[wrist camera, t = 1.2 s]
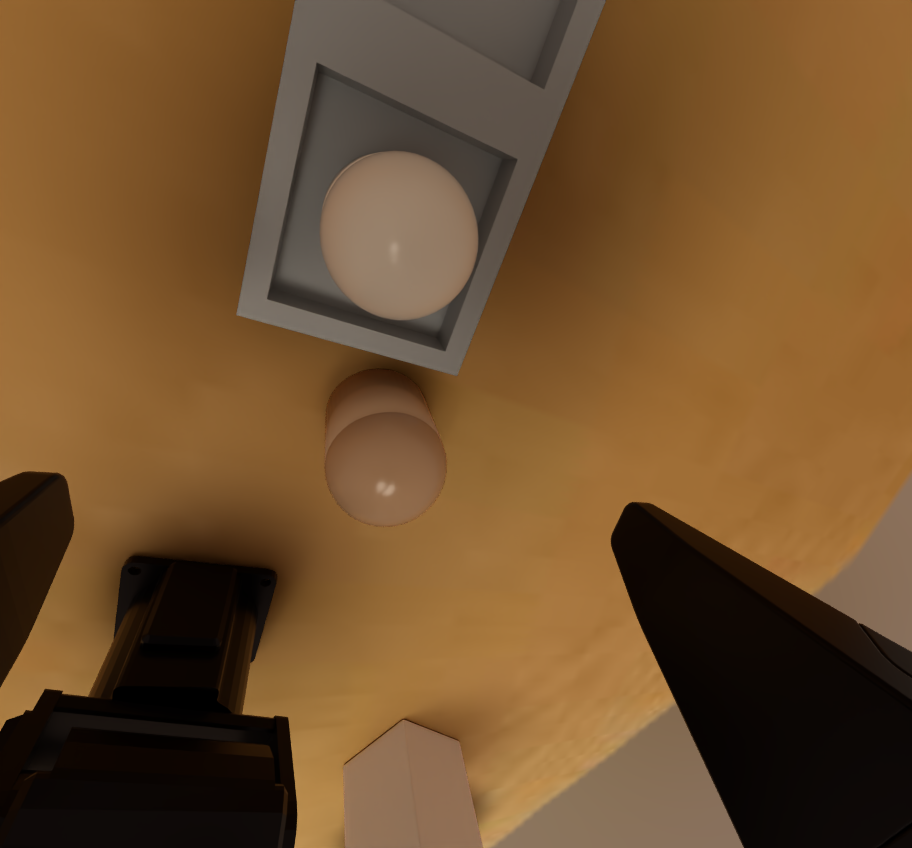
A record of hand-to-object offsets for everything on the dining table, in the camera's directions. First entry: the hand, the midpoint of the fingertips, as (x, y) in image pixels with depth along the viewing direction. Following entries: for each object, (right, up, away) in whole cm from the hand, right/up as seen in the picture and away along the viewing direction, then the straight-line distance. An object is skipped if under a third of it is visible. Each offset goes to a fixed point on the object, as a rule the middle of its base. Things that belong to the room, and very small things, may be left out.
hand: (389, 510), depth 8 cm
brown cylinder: (-2, +2, +13) cm, 13 cm away
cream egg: (-1, +9, +9) cm, 12 cm away
